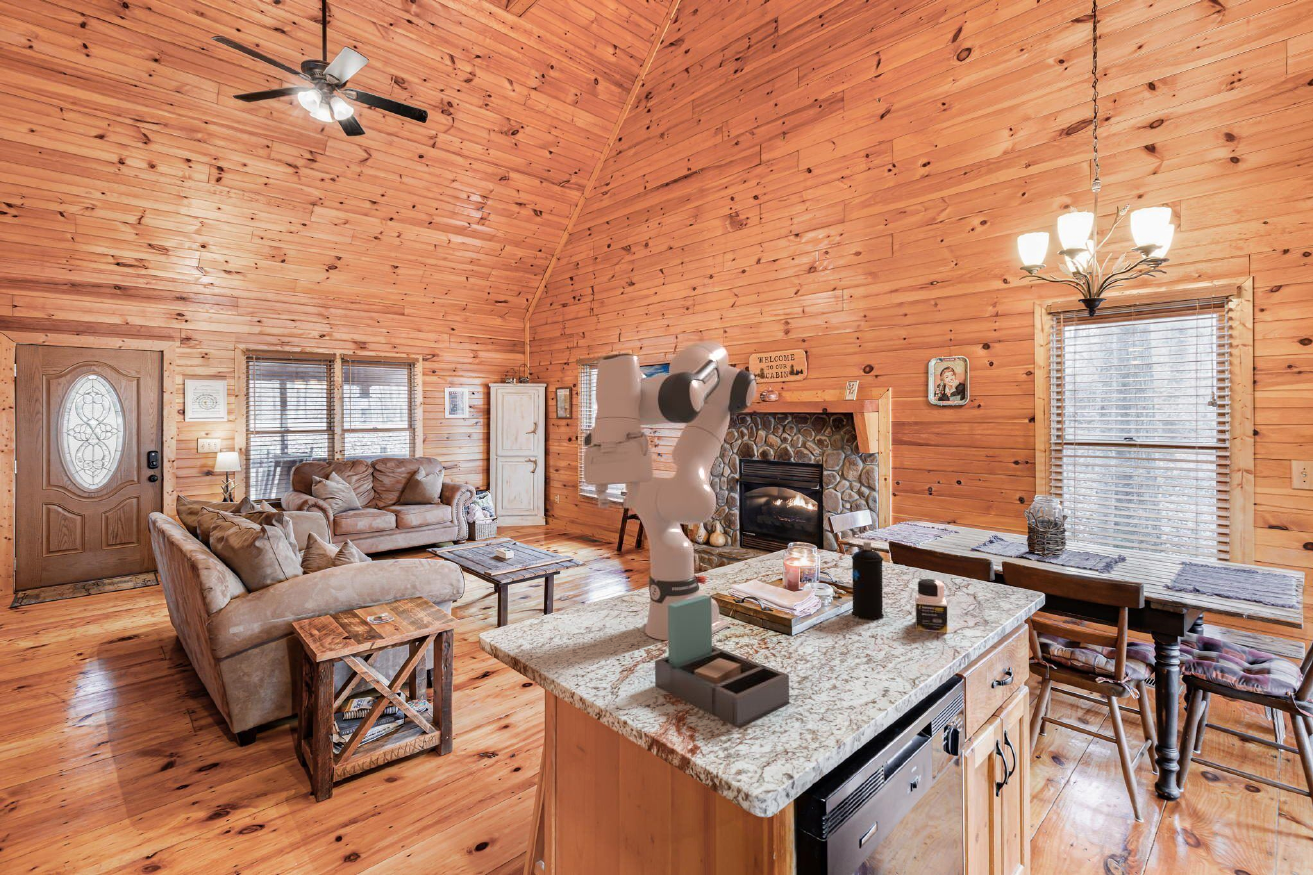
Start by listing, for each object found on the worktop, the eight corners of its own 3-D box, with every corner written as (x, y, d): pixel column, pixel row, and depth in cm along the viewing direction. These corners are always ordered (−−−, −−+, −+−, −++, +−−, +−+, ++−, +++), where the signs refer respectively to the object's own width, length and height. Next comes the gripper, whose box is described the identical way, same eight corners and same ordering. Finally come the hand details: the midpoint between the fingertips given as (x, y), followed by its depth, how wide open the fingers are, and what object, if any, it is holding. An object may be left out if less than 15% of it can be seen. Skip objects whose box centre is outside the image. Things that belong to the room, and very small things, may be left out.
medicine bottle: (916, 630, 151) (915, 582, 151) (915, 621, 158) (915, 576, 158) (947, 633, 148) (947, 585, 148) (945, 624, 155) (945, 578, 155)
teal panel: (705, 671, 124) (704, 594, 123) (712, 674, 122) (711, 596, 122) (668, 685, 117) (667, 604, 117) (675, 689, 116) (674, 606, 115)
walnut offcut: (719, 670, 118) (719, 657, 118) (740, 677, 115) (740, 664, 115) (694, 683, 112) (694, 670, 112) (716, 691, 109) (715, 677, 109)
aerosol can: (886, 613, 165) (886, 541, 164) (879, 621, 158) (879, 546, 157) (855, 608, 169) (855, 538, 169) (848, 616, 162) (847, 543, 162)
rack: (706, 673, 126) (705, 643, 126) (791, 710, 109) (791, 675, 109) (655, 693, 117) (655, 660, 117) (739, 737, 100) (739, 698, 100)
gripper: (661, 431, 108) (661, 508, 107) (605, 441, 125) (604, 508, 124) (632, 428, 105) (631, 507, 103) (578, 439, 122) (577, 507, 120)
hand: (616, 508), depth 114 cm, fingers open, 8 cm apart
